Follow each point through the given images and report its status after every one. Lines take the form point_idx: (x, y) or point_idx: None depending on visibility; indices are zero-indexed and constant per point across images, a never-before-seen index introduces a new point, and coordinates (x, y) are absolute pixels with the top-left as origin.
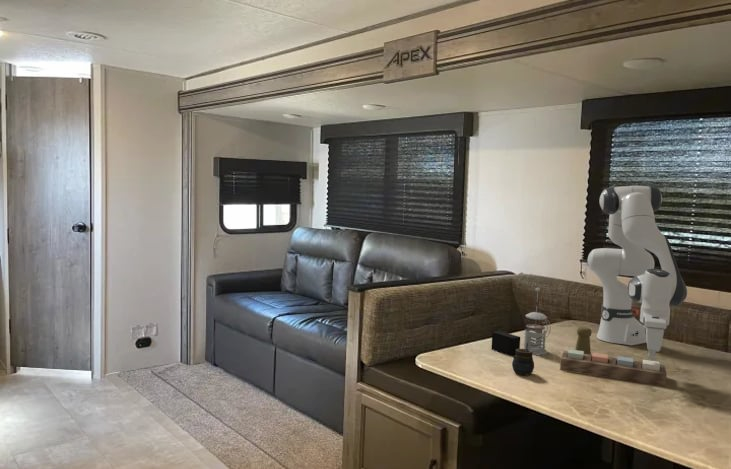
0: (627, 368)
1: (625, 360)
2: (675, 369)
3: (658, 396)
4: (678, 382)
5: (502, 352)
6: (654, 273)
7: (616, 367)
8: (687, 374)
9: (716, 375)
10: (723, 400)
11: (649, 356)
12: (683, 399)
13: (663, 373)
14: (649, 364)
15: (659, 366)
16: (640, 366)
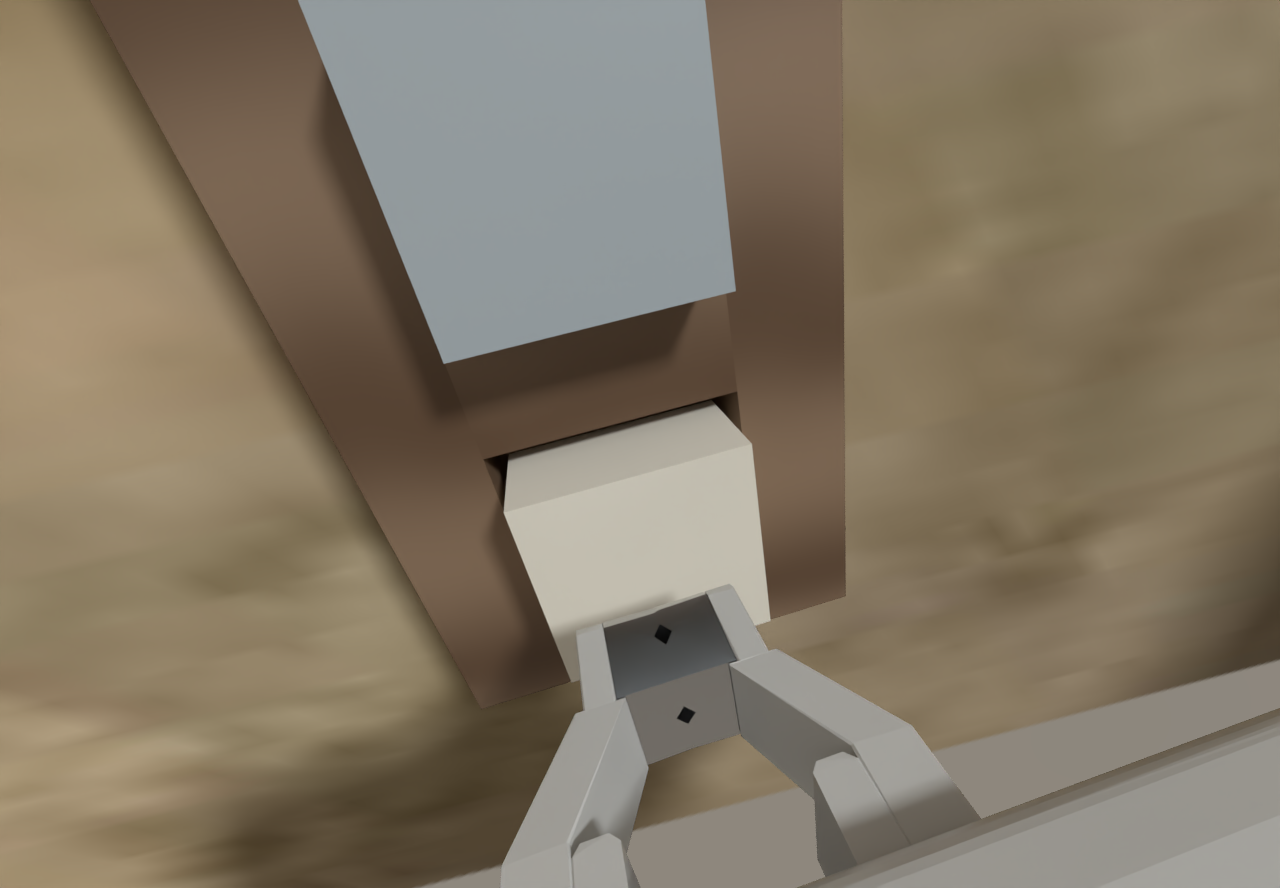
0: (247, 285)
1: (410, 191)
2: (1046, 524)
3: (78, 656)
4: None
5: None
6: None
7: (123, 45)
8: (947, 610)
9: (1002, 708)
10: (489, 865)
11: (580, 665)
12: (242, 771)
13: (485, 682)
14: (533, 583)
15: (570, 670)
16: (583, 420)
